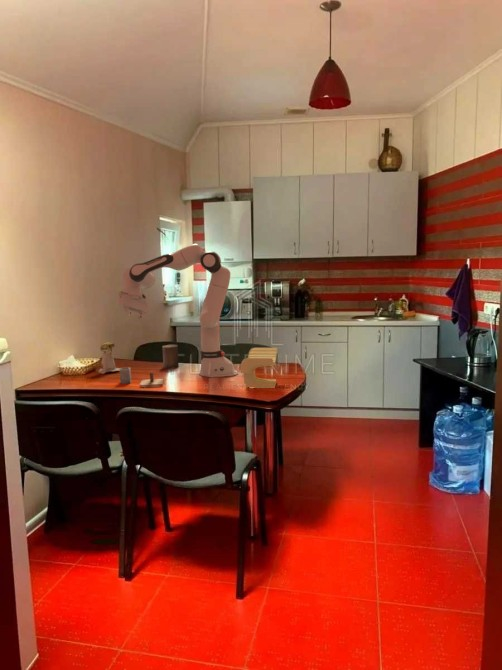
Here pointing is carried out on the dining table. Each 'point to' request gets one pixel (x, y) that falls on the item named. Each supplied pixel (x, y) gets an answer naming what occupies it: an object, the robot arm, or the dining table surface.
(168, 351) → the pillar candle
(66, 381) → the dining table surface
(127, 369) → the grey rectangular block
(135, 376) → the dining table surface
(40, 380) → the dining table surface
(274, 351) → the wooden slatted rack
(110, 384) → the dining table surface
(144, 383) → the post
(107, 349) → the beige sitting figure
